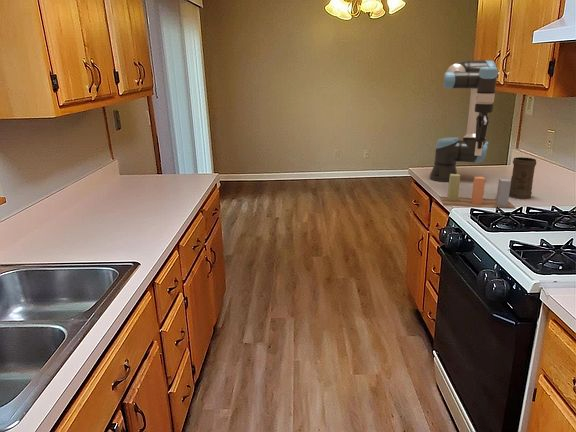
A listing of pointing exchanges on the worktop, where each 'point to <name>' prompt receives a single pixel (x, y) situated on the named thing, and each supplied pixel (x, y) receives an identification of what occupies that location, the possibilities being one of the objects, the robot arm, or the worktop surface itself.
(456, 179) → the olive pillar
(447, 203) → the walnut board
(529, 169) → the beer stein
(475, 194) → the terracotta pillar
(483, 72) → the robot arm
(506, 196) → the slate pillar
